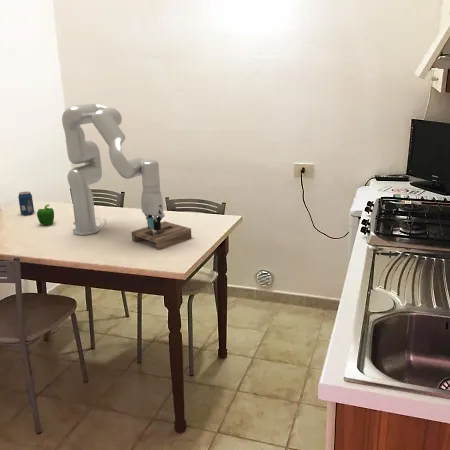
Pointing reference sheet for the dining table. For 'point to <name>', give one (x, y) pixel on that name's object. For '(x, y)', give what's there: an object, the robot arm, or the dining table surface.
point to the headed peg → (152, 225)
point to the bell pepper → (45, 216)
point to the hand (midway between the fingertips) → (154, 228)
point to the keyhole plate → (163, 234)
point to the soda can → (26, 203)
